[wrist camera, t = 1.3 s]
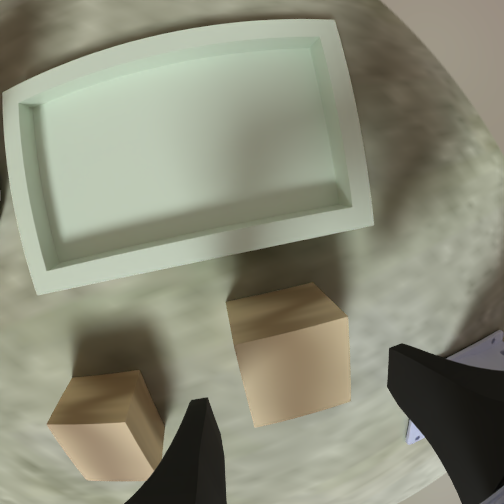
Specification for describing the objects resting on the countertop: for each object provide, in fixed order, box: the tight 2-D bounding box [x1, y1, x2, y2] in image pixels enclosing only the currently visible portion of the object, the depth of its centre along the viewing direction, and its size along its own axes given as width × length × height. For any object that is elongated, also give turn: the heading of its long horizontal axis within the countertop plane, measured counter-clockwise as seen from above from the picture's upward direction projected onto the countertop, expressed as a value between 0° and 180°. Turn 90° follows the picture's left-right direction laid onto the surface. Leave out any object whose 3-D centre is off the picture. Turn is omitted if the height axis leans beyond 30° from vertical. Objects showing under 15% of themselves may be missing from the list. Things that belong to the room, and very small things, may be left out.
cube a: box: [226, 282, 351, 428], centre depth 14 cm, size 4×4×4 cm
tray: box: [2, 19, 374, 295], centre depth 13 cm, size 16×10×2 cm, turn 100°
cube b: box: [47, 370, 165, 481], centre depth 14 cm, size 4×4×4 cm
